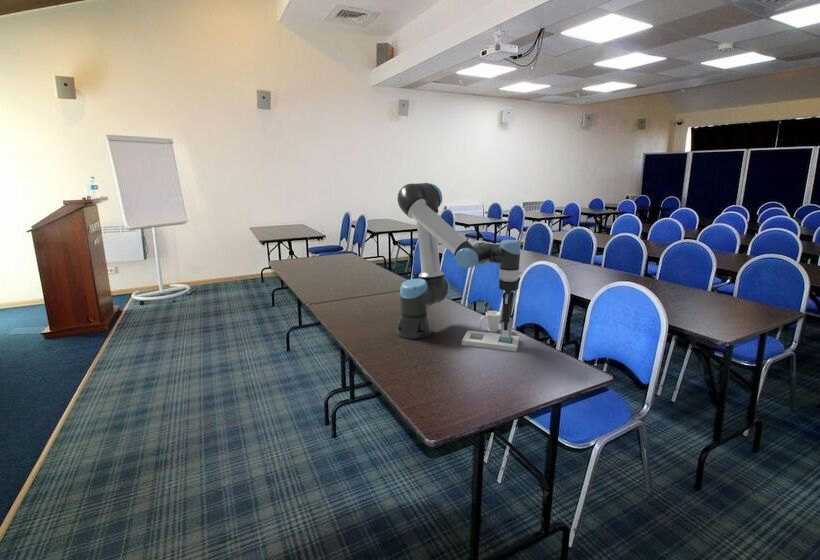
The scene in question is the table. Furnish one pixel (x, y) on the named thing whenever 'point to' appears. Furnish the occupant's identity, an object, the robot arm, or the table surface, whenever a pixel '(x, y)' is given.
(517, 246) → the robot arm
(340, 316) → the table surface
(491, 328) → the cup
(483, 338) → the panel
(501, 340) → the plug
